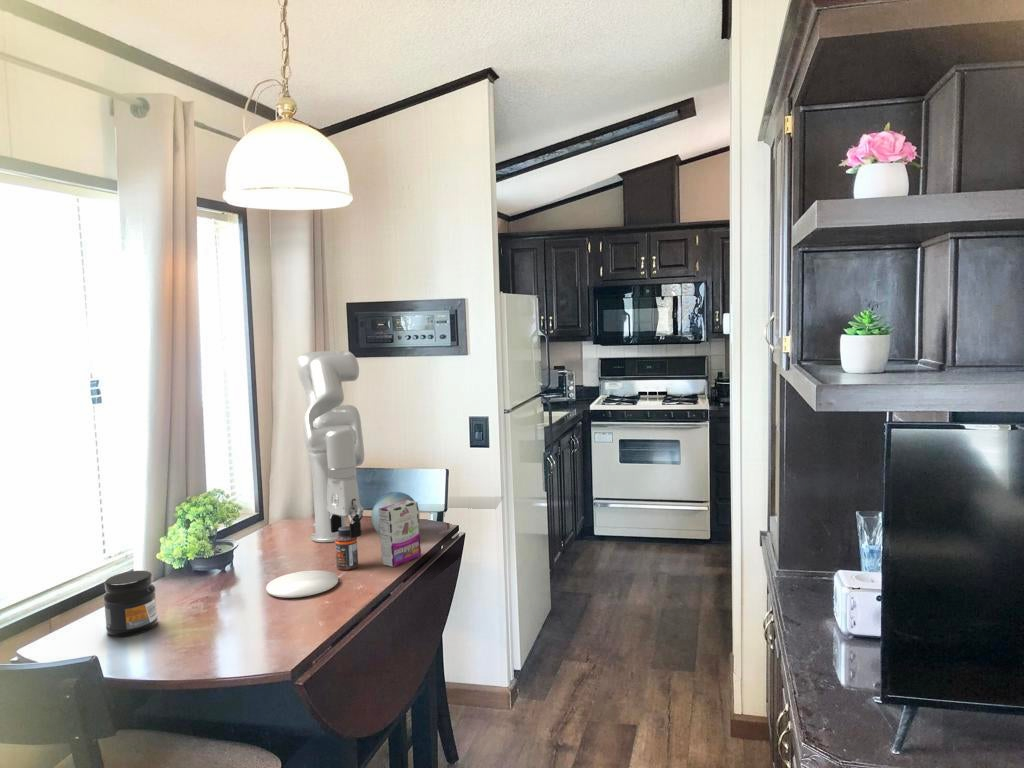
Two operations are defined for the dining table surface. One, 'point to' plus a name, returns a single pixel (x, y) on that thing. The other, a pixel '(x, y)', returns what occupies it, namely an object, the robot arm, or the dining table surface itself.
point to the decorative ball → (386, 501)
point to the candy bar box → (399, 533)
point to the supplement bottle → (346, 549)
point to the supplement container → (130, 603)
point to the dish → (302, 584)
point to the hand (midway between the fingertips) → (346, 534)
